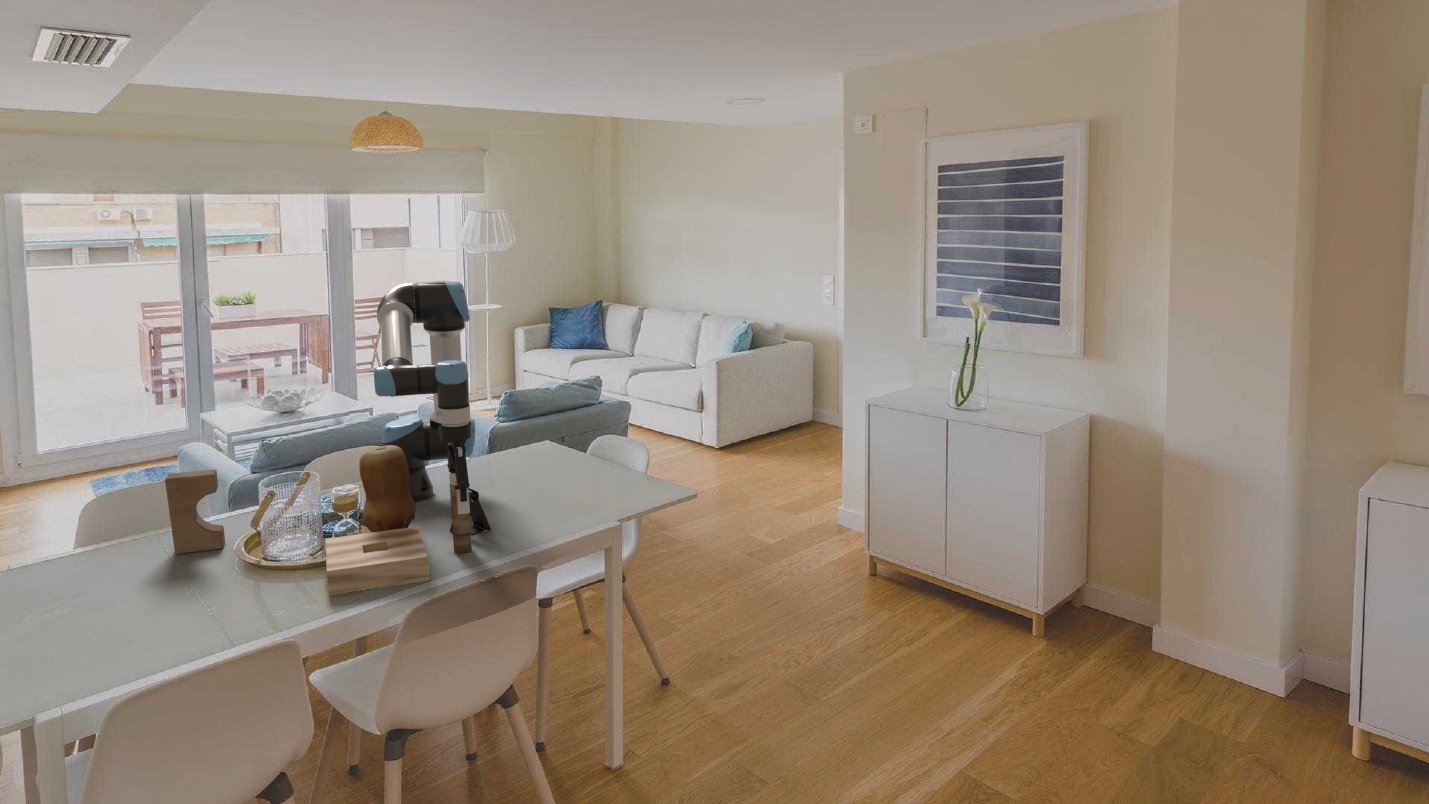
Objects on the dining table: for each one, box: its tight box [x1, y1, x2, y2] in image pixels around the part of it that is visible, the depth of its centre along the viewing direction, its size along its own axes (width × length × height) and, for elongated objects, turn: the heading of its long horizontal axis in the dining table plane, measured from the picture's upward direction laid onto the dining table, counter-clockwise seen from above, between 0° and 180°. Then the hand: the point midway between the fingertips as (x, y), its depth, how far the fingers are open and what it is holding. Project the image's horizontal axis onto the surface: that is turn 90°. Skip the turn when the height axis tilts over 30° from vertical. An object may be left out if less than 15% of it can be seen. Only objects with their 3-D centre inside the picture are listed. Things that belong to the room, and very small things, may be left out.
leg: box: [449, 481, 473, 555], centre depth 237 cm, size 4×4×18 cm
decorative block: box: [164, 468, 226, 555], centre depth 239 cm, size 11×6×20 cm, turn 111°
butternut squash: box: [358, 445, 417, 533], centre depth 246 cm, size 14×13×25 cm
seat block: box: [324, 526, 430, 597], centre depth 226 cm, size 22×22×6 cm
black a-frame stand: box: [449, 487, 492, 536], centre depth 252 cm, size 9×6×12 cm, turn 135°
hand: (460, 505), depth 236 cm, fingers open, 13 cm apart
